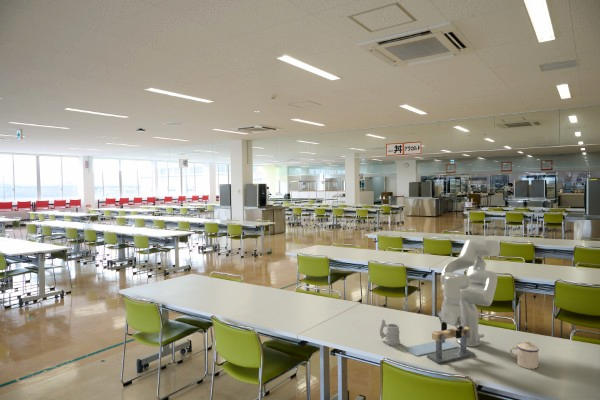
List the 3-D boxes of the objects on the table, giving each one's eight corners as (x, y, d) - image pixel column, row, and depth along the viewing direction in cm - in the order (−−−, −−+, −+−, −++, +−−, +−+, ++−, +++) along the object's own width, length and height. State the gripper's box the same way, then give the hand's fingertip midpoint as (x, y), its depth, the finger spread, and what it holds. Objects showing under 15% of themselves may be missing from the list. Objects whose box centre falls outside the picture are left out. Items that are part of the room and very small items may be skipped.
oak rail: (465, 332, 199) (465, 326, 198) (470, 334, 196) (470, 328, 196) (432, 338, 190) (432, 332, 190) (436, 340, 187) (436, 334, 187)
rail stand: (463, 349, 202) (463, 325, 201) (475, 355, 194) (475, 330, 194) (426, 357, 192) (427, 331, 192) (438, 364, 185) (438, 337, 185)
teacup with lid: (539, 364, 185) (539, 340, 185) (537, 371, 178) (538, 346, 177) (511, 357, 192) (511, 334, 192) (508, 364, 185) (508, 340, 184)
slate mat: (445, 340, 214) (445, 339, 214) (458, 347, 204) (458, 346, 204) (403, 348, 203) (403, 347, 203) (416, 356, 194) (416, 355, 194)
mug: (396, 347, 204) (396, 325, 204) (376, 341, 212) (376, 320, 212) (402, 343, 210) (402, 321, 210) (383, 337, 218) (383, 316, 218)
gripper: (433, 297, 199) (433, 329, 199) (459, 306, 183) (458, 341, 183) (444, 295, 202) (444, 328, 202) (471, 304, 186) (470, 339, 186)
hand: (451, 334), depth 193 cm, fingers open, 9 cm apart
